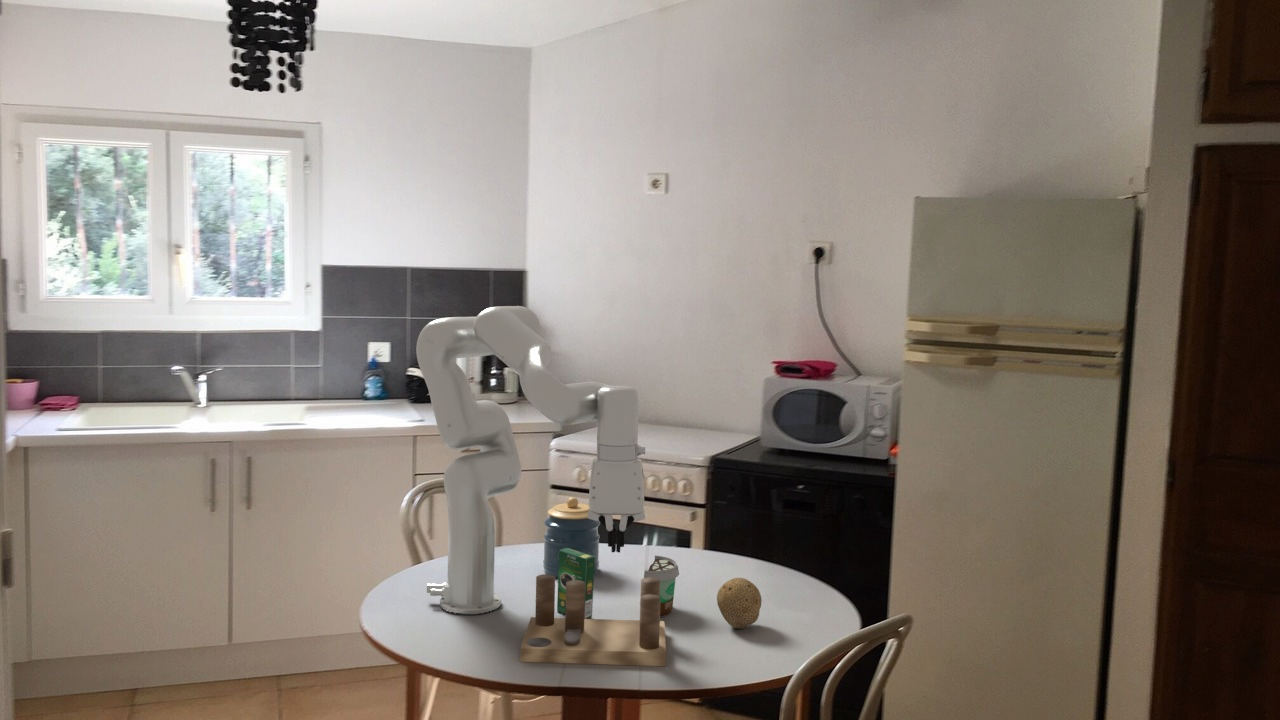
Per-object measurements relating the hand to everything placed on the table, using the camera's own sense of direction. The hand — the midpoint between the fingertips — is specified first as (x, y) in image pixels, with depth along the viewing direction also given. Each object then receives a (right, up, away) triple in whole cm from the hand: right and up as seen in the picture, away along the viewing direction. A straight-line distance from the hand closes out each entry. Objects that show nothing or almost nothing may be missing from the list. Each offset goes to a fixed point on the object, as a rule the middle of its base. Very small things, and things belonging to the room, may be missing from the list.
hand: (616, 550), depth 186 cm
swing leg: (-8, -16, -1) cm, 17 cm away
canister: (-12, -14, +47) cm, 50 cm away
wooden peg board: (-4, -18, +1) cm, 19 cm away
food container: (+9, -17, +22) cm, 29 cm away
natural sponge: (+24, -18, +14) cm, 33 cm away
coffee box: (-9, -17, +18) cm, 26 cm away
